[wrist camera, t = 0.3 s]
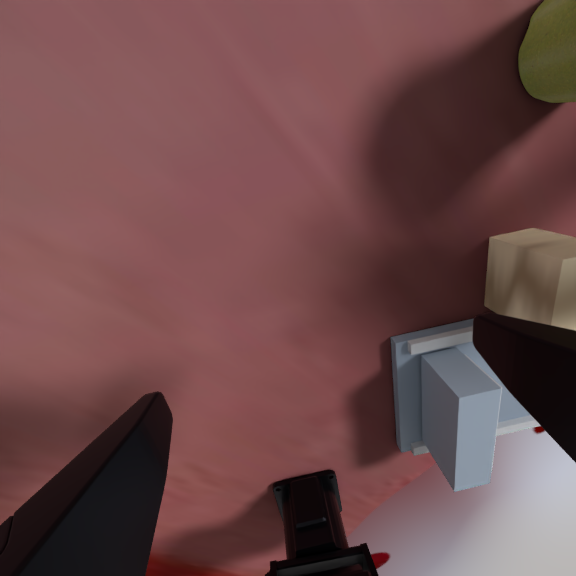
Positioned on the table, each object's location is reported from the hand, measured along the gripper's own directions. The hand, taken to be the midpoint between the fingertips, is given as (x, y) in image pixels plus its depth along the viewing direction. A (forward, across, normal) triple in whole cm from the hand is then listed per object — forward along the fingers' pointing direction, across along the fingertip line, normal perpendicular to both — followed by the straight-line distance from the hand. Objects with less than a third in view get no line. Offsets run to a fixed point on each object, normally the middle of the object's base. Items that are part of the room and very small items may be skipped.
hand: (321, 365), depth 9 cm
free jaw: (+13, -11, +17) cm, 24 cm away
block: (+14, -18, +6) cm, 23 cm away
